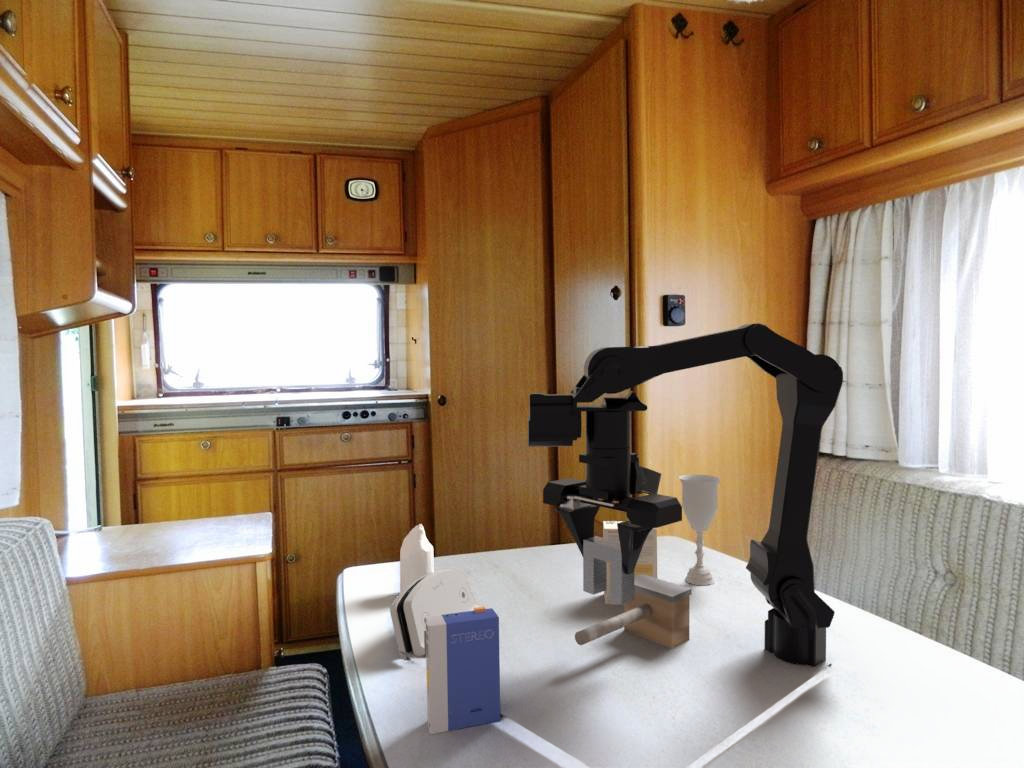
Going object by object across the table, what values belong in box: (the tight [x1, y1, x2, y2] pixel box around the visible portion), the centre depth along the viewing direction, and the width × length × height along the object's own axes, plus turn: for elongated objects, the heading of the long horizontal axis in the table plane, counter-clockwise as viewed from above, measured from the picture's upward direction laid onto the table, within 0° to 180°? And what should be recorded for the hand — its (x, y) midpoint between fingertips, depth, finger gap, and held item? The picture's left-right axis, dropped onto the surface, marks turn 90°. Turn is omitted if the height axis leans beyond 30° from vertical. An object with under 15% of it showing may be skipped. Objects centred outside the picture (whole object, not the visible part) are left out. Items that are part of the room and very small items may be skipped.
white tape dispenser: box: [389, 568, 482, 660], centre depth 97 cm, size 17×5×10 cm, turn 155°
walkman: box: [424, 606, 501, 735], centre depth 74 cm, size 8×3×12 cm, turn 107°
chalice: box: [678, 474, 722, 586], centre depth 118 cm, size 7×7×18 cm
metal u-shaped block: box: [582, 535, 634, 606], centre depth 87 cm, size 6×2×7 cm, turn 41°
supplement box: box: [602, 520, 659, 606], centre depth 107 cm, size 8×5×13 cm, turn 84°
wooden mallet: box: [574, 574, 693, 649], centre depth 90 cm, size 18×8×8 cm, turn 132°
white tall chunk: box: [399, 523, 435, 594], centre depth 113 cm, size 6×12×6 cm
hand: (608, 567), depth 87 cm, fingers closed on metal u-shaped block, 6 cm apart
